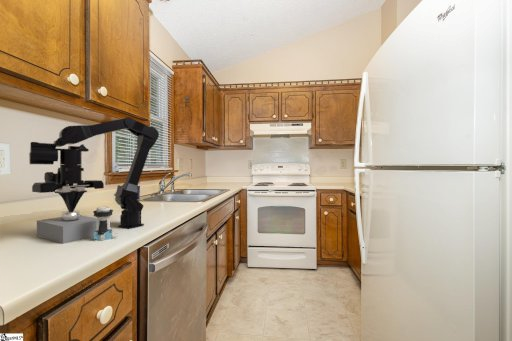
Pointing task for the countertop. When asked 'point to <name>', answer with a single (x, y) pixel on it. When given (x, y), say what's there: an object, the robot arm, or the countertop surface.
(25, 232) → the countertop surface
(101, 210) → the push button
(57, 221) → the panel
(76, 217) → the knob
